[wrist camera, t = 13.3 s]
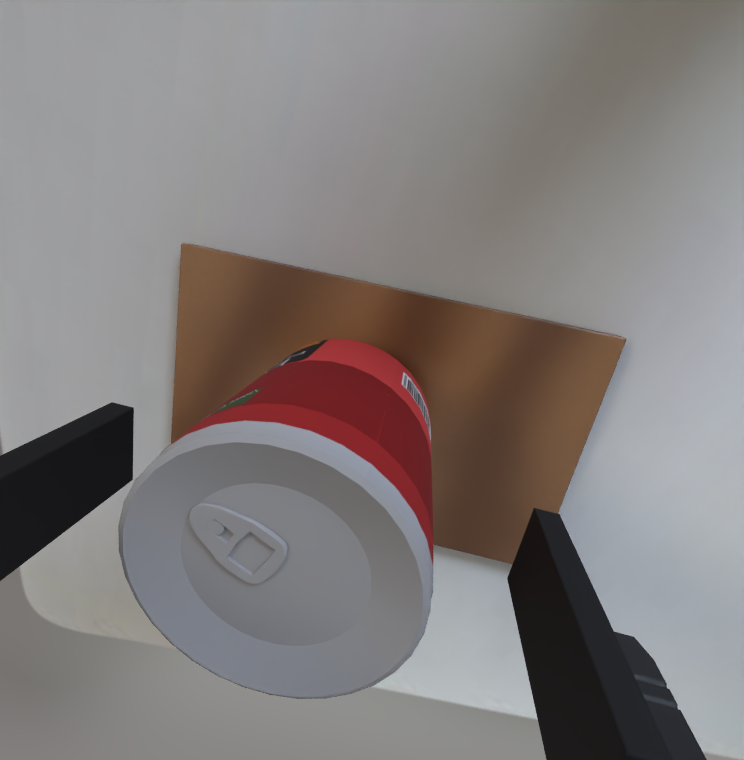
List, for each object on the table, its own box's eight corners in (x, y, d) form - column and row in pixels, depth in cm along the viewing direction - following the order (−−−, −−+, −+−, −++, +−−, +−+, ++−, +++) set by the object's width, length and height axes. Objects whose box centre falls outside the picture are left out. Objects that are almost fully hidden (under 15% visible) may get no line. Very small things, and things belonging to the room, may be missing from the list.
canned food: (301, 306, 19) (152, 373, 9) (460, 379, 19) (498, 530, 9) (250, 444, 22) (85, 623, 11) (391, 508, 22) (358, 745, 11)
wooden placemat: (621, 336, 19) (627, 339, 18) (532, 562, 22) (535, 570, 22) (187, 243, 20) (180, 243, 19) (174, 472, 24) (168, 478, 23)
